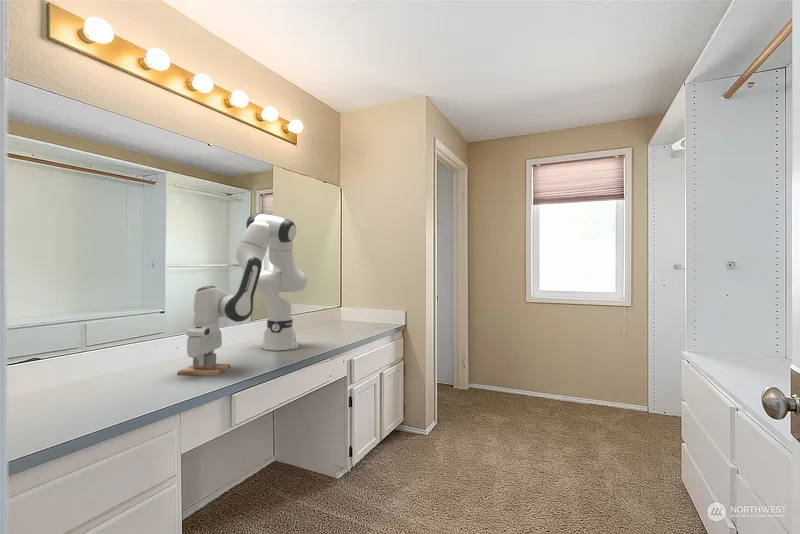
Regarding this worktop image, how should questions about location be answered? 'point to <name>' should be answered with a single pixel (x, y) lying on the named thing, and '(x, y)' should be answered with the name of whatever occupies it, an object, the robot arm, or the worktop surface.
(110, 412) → the worktop surface
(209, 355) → the sanding block
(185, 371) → the board
